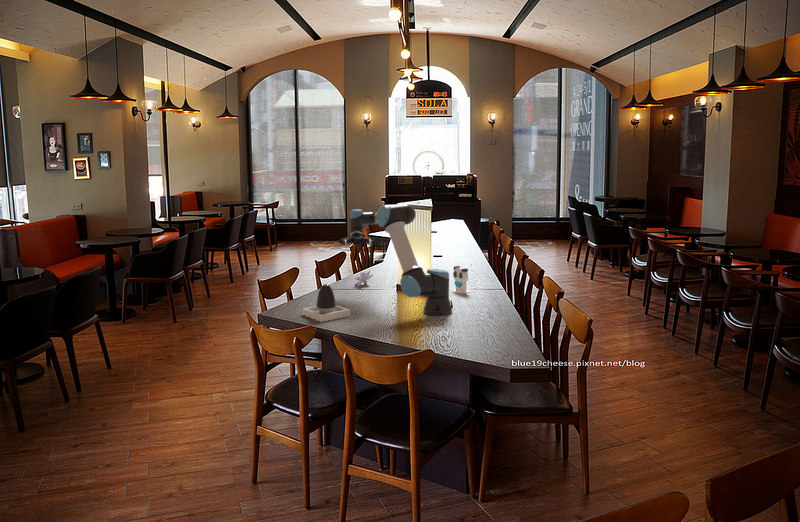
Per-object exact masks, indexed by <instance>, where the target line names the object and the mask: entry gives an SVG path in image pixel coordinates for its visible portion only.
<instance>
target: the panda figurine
mask: <svg viewBox="0 0 800 522" xmlns="http://www.w3.org/2000/svg"><path fill="white" fill-rule="evenodd" d="M468 273H469V269H468V268H466V267H461V266H460V265H456V266H455V265H454V266H453V278H454V285H455V288H454V289H451V292H452V293H453V294H468V293H470V292H471V290H470V289H468V288H467V282H468V280H469V274H468Z"/></svg>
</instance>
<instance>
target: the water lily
mask: <svg viewBox="0 0 800 522" xmlns="http://www.w3.org/2000/svg"><path fill="white" fill-rule="evenodd" d="M359 275H360V276H356V277H355V278H354V279H355V280H356V281H357V282H356V283H355V284H354V286H355V287H357V286H358V285H361V284H362V283H363V284H365V286H366V287H368V284H367V283H368V280H369V279H371V278H372V277H373V276H374V274H371V270H368V272H366V273H365V272H364V271H363V272H360V273H359Z"/></svg>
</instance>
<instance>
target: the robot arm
mask: <svg viewBox="0 0 800 522" xmlns="http://www.w3.org/2000/svg"><path fill="white" fill-rule="evenodd" d="M415 218H416V210H415V208H414V207H413V206H412V205H410V204H407V203H398V204H395V203H394V204H389V203H388V204H383V205H381V206H379V208H378V210H377V211H376V210H375V211H365V212H364V211H363V209H356V208H355V209H351V210H350V214H349V219H350V220H349V221H350V223H349V224H350V227H349V230H350V234H349V237H350V238H349V237H348V236H346V237H344V238H343V237H342V238H341V239H339V245H342V246H345V247H347V244H353V245H354V246H361V245H362V244H369V246H370V247H371V246H372V245H373V244H374V245H375V244H376V243H377V240H376V238H373V237H369V236H367V237H365V236H364V226H368V225H378V226H379V227H380V228H383V229H384V232H385V233H387V234H389V238H390V239H391V243H392V245H393V248H394V251H395V254H396V256H397V258H398V262H399V265H400V267H401V270H402V274H401V279H400V281H399V283H400V284H399V286H400V288H401V289H400V290H401V291H402V293H403V294H404V295H405V296H406V297H408V298H418V297H424V296H426V300H425V303H424V304H425V305H424V306H423V313H424V314H425V315H430V316H447V315H451V314H452V313H453V307H452V306H451V305H452V304H451V301H450V273H449V272H448V271H447V270H445V269H440V268H439V269H438V268H437V269H436V268H428V269H427V270H426V272H424V270H423V269H424V268H423V267H422V266H419V264H418V261H417V258H416V256H415V254H414V251H413V249H412V245H411V243H410V240H409V238H408V235H407V233H406V231H405V230H406V229H405V227H406V225H410V224H411V223H413V222H414V221H415Z"/></svg>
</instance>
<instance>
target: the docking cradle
mask: <svg viewBox="0 0 800 522" xmlns="http://www.w3.org/2000/svg"><path fill="white" fill-rule="evenodd" d="M304 315H305V316H304ZM302 316H304V317H307V318H309V317H310V319H313V320H314V319H315V320H314V321H317V322H319V321H320V323H324V322H329V321H333V319H334V320H338V318H339V319H344V318H348V316H349V317H351V309H350V308H346V307H345V306H340V305H337V304H336V307H335V310H334V311H333V312H332V313H326V314H322V313H320V312H319V311H318V309H317V307H316V305H315V306H310V307H303V308H302ZM343 317H344V318H343ZM328 320H329V321H328ZM323 321H324V322H323Z"/></svg>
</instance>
